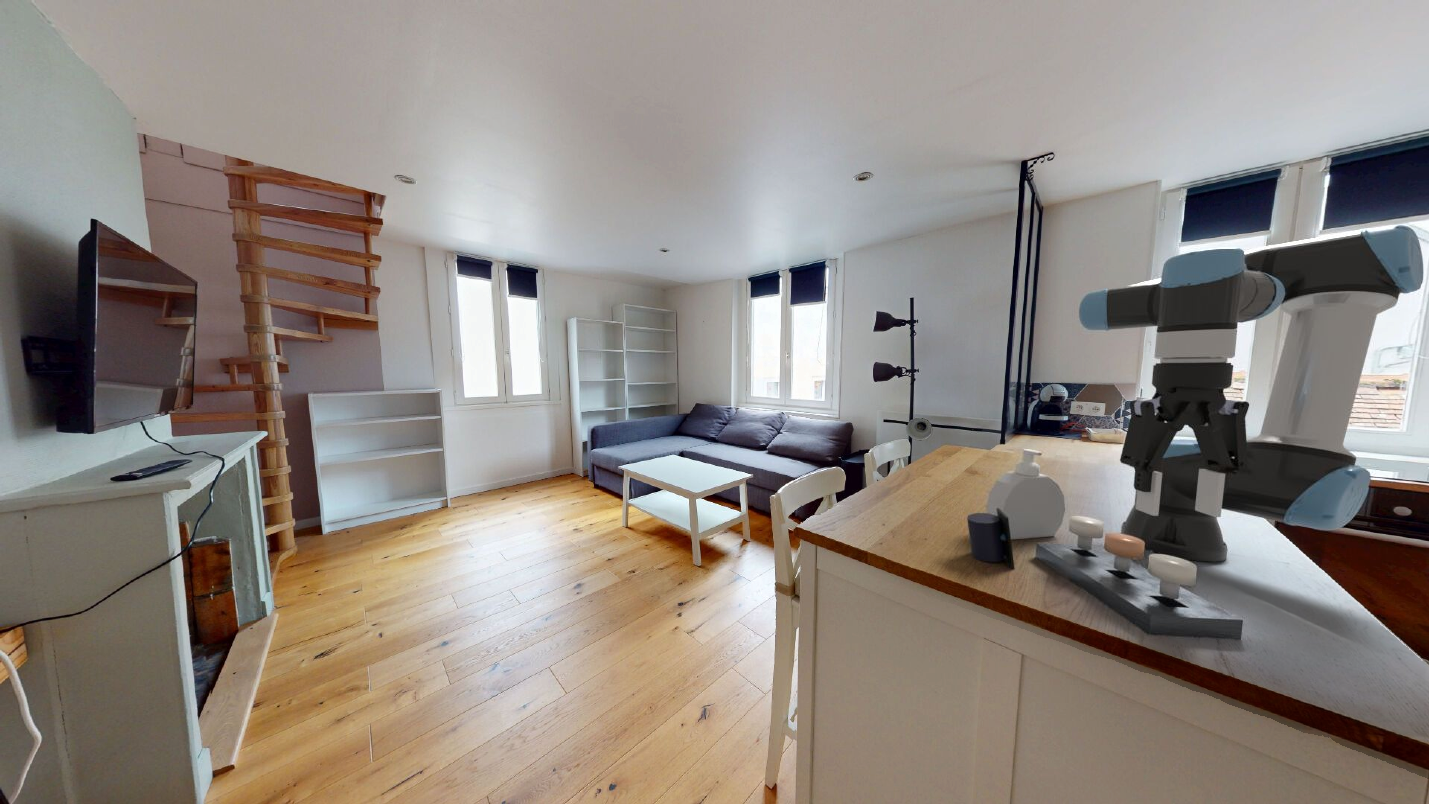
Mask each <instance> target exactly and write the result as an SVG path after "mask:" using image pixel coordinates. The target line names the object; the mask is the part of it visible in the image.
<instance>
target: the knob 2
mask: <svg viewBox="0 0 1429 804" xmlns="http://www.w3.org/2000/svg"><path fill="white" fill-rule="evenodd" d="M1147 566H1148V567H1147V570H1148V573H1149V574H1151V575H1152V576H1154V577H1156V578H1158V579H1161V580H1160V590H1159V593H1160V594H1161V595H1163V596H1165V597H1167V598H1171V599H1179V592H1180V587H1181V586H1195V584H1196V578H1197V570H1198V568H1197V567H1198V566H1197V565H1196V564H1194V563H1193V562H1192V561H1189V560H1188V559H1183V558H1178V557H1174V556H1169V555H1165V554H1161V553H1150V554H1149V555H1148V565H1147Z"/></svg>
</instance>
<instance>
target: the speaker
mask: <svg viewBox="0 0 1429 804" xmlns="http://www.w3.org/2000/svg"><path fill="white" fill-rule="evenodd" d="M966 519H967V527H968V535H969V541H970V550H971V551H970V552H971V556H972V557H973V558H974V559H978V560H980V561H982V562H983V561H984V562H990V563H997V562H1000V561H1003V560H1004V561H1005V562H1006V563H1007V564H1008V565H1009V567H1010V568H1011V569H1012V570H1015V562H1014V561H1015V560H1014V554H1013V545H1012V540H1011V536H1010V528H1009V520H1008V517H1007V516H1006V515H1005V514H1004V513H1003V512H1002V511H1001V510H1000V509H999V508H997V516H996V515H992V514H989V513H987V512H985V513H984V512H975V513H971V514H968V515H967V517H966Z"/></svg>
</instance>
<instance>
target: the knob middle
mask: <svg viewBox="0 0 1429 804" xmlns="http://www.w3.org/2000/svg"><path fill="white" fill-rule="evenodd" d="M1104 534H1105V535H1104V545H1103V546H1104V549H1105V550H1106V551H1107V552H1109V553H1111V554H1114V555H1115V558H1114V568H1115V569H1117V570H1120V571H1123V572H1130V567H1131V561H1132V560H1142V559H1144V557H1145V556H1144V555H1145V549H1144V546H1145V542H1144V541H1143V540H1141V539H1139V538H1136V537H1133V536H1129V535H1125V534H1121V532H1120V533H1118V532H1107V533H1104Z"/></svg>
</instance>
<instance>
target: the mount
mask: <svg viewBox="0 0 1429 804" xmlns="http://www.w3.org/2000/svg"><path fill="white" fill-rule="evenodd" d="M1035 543H1036V544H1035V546H1036V547H1035V558H1036V559H1038V560H1040V562H1041V563H1044V564H1045V565H1046V566H1048V567H1050V568H1051V569H1053V570H1054V571H1055V572H1056V573H1058V574H1060V575H1061V576H1063V577H1064V578H1065V579H1067V580H1068V581H1070V582H1071V583H1073V584H1074V585H1075V586H1077V587H1078V588H1080V589H1082V590H1083V591H1085V592H1086V593H1088V594H1089V595H1090V596H1092V597H1093V598H1094V599H1097V601H1099V602H1100V603H1102V604H1103V605H1105V606H1106V607H1107V608H1109V609H1110V610H1112V611H1114V612H1115V613H1116V614H1117V615H1119V616H1120V617H1122V618H1124V619H1125V620H1126V621H1127V622H1129V623H1131V624H1132V625H1134V626H1135V627H1137V628H1138V629H1139V630H1141V631H1143V632H1144V633H1145V634H1147V635H1148V636H1159V637H1160V636H1161V637H1162V636H1163V637H1180V638H1182V637H1183V638H1199V639H1201V638H1202V639H1203V638H1204V639H1220V640H1221V639H1223V640H1226V639H1227V640H1242V637H1243V636H1242V634H1243V629H1244V628H1243V627H1244V619H1242V618H1241V617H1239V616H1236V615H1235V614H1233V613H1231V612H1229V611H1227V610H1226V609H1223V608H1221V607H1220V606H1218V605H1215V604H1214V603H1212V602H1210V601H1208V600H1206V599H1204V598H1202V597H1201V596H1198V595H1197V594H1195V593H1193V592H1191V591H1189V590H1187V589H1185V588H1183V587H1182V586H1180V592H1179V599H1171V598H1167V597H1165V596H1163V595H1161V594H1160V593H1159V590H1160V580H1161V579H1158V578H1156V577H1154V576H1152V575H1151V574H1149V573H1148V568H1145V567H1144V566H1141V565H1140V564H1137V563H1136V562H1134V561H1132V560H1131V567H1130V572H1123V571H1120V570H1117V569H1115V568H1114V558H1115V555H1114V554H1111V553H1109V552H1107V551H1106V550H1105V549H1104V545H1101V544H1093V543H1092V549H1091V550H1083V549H1080V548H1078V547H1077V545H1078V543H1053V542H1050V543H1049V542H1035Z"/></svg>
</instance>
